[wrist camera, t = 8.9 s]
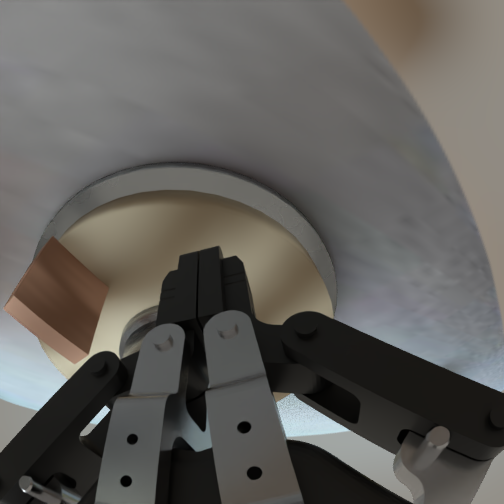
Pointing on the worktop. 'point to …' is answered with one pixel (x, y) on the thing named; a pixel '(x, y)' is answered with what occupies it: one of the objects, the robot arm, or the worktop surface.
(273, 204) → the turntable base
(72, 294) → the turntable
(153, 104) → the worktop surface
